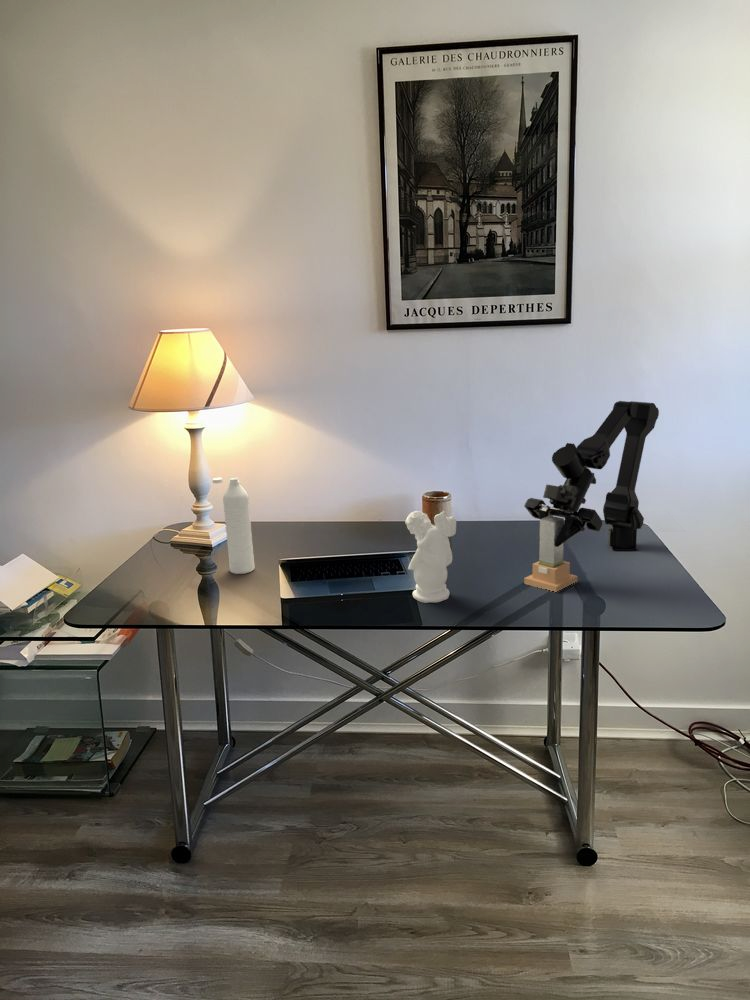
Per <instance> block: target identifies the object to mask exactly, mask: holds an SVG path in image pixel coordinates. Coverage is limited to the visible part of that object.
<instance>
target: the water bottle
mask: <svg viewBox="0 0 750 1000" xmlns="http://www.w3.org/2000/svg"><path fill="white" fill-rule="evenodd" d="M222 483H224V482H223V478H222V477H214V478H212V484H222ZM222 502H223V509H224V511H223V513H224V522H225V532H226V542H227V543H226V544H227V554H228V561H229V564H228V565H229V566H228V567H229V572H231V574H235V575H240V574H241V575H242V574H247V573H251V572H252V571H254V570H255V566H256V565H255V558H254V557H255V556H254V547H253V535H252V534H253V533H252V525H251V524H252V523H251V514H250V513H251V512H250V505H249V504H250V502H249V494H248V492H247V491H246V490H245V488H244V487H243V486H242V485H241V484H240V479H239V477H231V478H229V482H228V486H227V488H226V490H225V491H224V493H223V498H222Z"/></svg>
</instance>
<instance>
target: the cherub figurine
mask: <svg viewBox="0 0 750 1000" xmlns="http://www.w3.org/2000/svg"><path fill="white" fill-rule="evenodd" d="M433 521H434V524H433V523H431V522H432V521H431V519H430V517H429V516H428V514H427V513H425V512H423V511H422V510H420V511H419V510H414V511H412V512H410V513H409V514H408V515H407V518H406V519H405V522H404V523H405V525H406V528H407V530H408V531H409V533H410V534H411V535H414V538H415V540H416V546H417V548H416V550H415V553H414V554H413V557H412V558H411V560H410V562H409V564H408V567H407V570H409V571H413V579H414V581H415V583H416V584H415V589H416V590H415V589H414V590H413V591H412V597H413V598H414V599H415V600H416V601H418V602H420V603H426V604H428V603H436V604H437V603H440V602H442V601H443V602H444V601H445V600H448V599H449V598H450V597H449V596H450V590H449V589H448V588H447V584H446V582H447V579H448V568H447V567H448V566H450V565H451V564H452V562H453V552H452V549H451V546H450V539H449V537H450V538H451V537H453V536H454V535H456V533H457V532H456V531H457V518H456V517H455V516H452V515H451V516H450V517H449V516H447V514H446V511H445V510H443V511H441V512H440V513H439V514H437V513H436V515H435V516H434V517H433Z"/></svg>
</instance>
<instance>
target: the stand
mask: <svg viewBox="0 0 750 1000" xmlns="http://www.w3.org/2000/svg"><path fill="white" fill-rule="evenodd" d="M570 569H571V562H569V561H565V560H563V564H562V565H560V566H558V567H555V568H551V567H548V566H544V565H540V564H539V560H538V561H536V562H533V563H532V574H529V575H527V576H526V577H524V582H523V583H524V584H525V585H528V586H531V587H533V588H537V587H538V588H539V589H541V588H542V590H545V589H547V590H546V591H548V590H550V591H549V592H552V591H554V592H553V593H555V592H557V591H559V590H561V589H563V588H565V587H567V586H569V585H571V584H572V585H574V584H576V583H578V578H579V577H578V575H576V574H575V575H574V574H572V573H571V572H570V571H571V570H570ZM575 582H576V583H575ZM573 583H574V584H573ZM572 585H571V586H572ZM569 587H570V586H569ZM567 588H568V587H567ZM565 589H566V588H565ZM563 590H564V589H563ZM561 591H562V590H561ZM559 592H560V591H559ZM557 593H558V592H557Z"/></svg>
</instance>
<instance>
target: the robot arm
mask: <svg viewBox="0 0 750 1000" xmlns="http://www.w3.org/2000/svg"><path fill="white" fill-rule="evenodd" d="M659 413H660V410H659V407H657V406H656V404H655V403H654V402H645V401H644V402H643V401H625V400H618V401H616V402H615V403H614V404H613V407H612V410H611V411H610V413H608V415H607V417H606V418H605V419H604V421H602V423H601V425H600V426H599V428H598V429H597V430H596V431H595V433H593V435H592V436H589V437H587V438H584V439H583V440H582V441H581V442H580V443H579V444H578V445H577V446H576V445H575V443H571V442H570V443H569V442H567V443H566V444H565V446H561V447H560V448H558V449H557V450H556V451H554V452H553V454H552V456H551V462H552V463H553V464H554V466H555V468H556V469H557V471H558V472H559V473H560V475H561V476H562V477H563V478H564V479H565V480H564V483H563V484H559V486H557V485H553V484H546V485H545V487H544V488H545V490H544V493H543V496H542V497H543V498H544V499H549V504H550V505H552V506H549V504H548V505H547V504H546V502H545V501H544V500H543V499H538V498H533V497H530V498H527V500H526V502H525V503H524V508H525V509H526V511H528V513H529V514H530V515H531V516H532V518H535V519H538V520H540V519H542V518H545V517H547V516H554V517H559V518H564V525H563V527H562V529H561V532H560V534H559V536H558V538H557V540H556V543H555V546H556V547H559V546H560V545H561V544H562V543H563V544H564V543H565V542H566V541H568V540H569V539H570V538H572V537H573V536H575V535H576V534H578V533H580V532H584V531H585V530H586V529H585V526H586V528H587V530H590V531H595V532H600V530H601V529H602V527H603V519H604V523H605V525H609V526H610V528H609V529H608V531H607V532H608V533H607V536H608V537H607V539H608V540H607V544H608V546H609V547H610V548H611V549H612V551H639V550H638V549H639V548H638V546H637V536H638V535H637V534H638V530H640V529H642V527H643V525H644V520H645V518H644V516H643V514H642V513H641V511H640V510H639V503H640V502H639V498H638V495H637V494H636V486H637V481H638V477H639V471H640V466H641V463H642V462H641V461H642V457H643V452H644V446H645V442H646V437H648V435H649V434H650V433H651V432H652V431H653V430H654V428H655V426H656V423H657V420H658V419H659V415H660V414H659ZM623 430H625V432H626V435H625V440H624V445H623V450H622V455H621V461H620V465H619V470H618V474H617V480H616V483H615V488H614V489H612V491H611V492H610V491H608V492H607V493H606V495H605V500H604V504H603V508H602V513H603V519H602V518H601V516H600V515H599V514H598V513H597V511H596V510H595V509H594V508H593V509H591V508H586V507H581V505H582V504H583V505H585V504H586V501H587V500H586V498H585V497H586V496H587V492H588V491H589V488H590V486H591V484H592V485H596V484H597V478H596V477H595V473H594V472H593V471H591V469H592V470H603V468H604V467H605V466H606V464H607V463H608V460H609V459H610V457H611V450H610V448H611V447H612V445H613V444H614V443H615V441H616V440H617V438H618V437H619V435H620V434H621V433H622V431H623ZM538 539H539V540H538V542H539V543H540V535H539V538H538Z"/></svg>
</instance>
